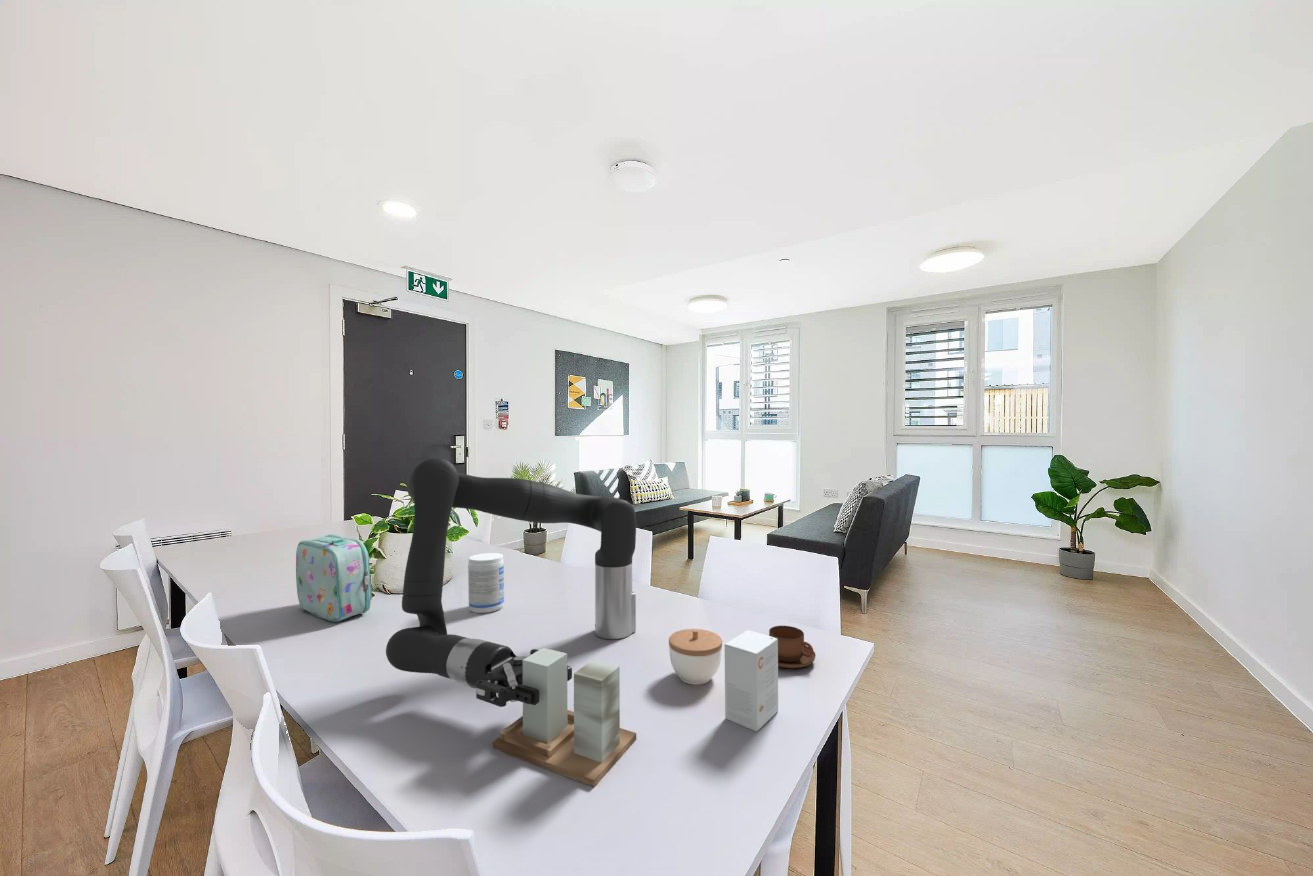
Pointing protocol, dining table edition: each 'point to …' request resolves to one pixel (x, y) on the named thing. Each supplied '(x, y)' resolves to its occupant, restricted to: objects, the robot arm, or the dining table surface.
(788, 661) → the cup and saucer
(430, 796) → the dining table surface
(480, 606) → the supplement tub
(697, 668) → the lidded jar
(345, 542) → the lunch box
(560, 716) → the sage block
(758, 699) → the small box
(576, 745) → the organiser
